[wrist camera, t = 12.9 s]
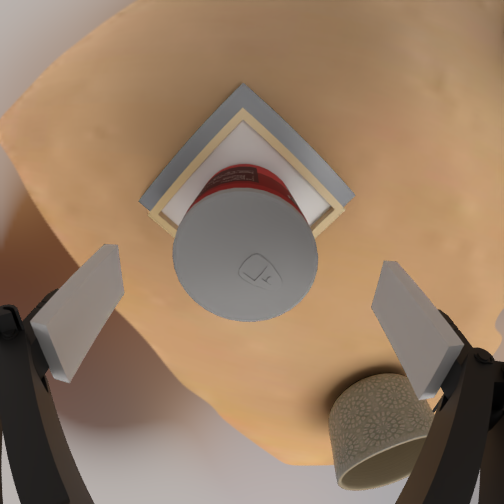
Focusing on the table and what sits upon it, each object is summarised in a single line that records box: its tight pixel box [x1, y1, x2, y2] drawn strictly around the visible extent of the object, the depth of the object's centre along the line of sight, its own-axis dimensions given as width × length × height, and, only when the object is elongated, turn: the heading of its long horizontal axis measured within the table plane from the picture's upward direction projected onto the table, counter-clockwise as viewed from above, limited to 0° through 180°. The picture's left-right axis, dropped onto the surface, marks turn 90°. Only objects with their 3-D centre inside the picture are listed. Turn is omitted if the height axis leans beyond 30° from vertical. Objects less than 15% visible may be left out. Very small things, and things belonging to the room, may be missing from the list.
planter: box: [329, 373, 435, 491], centre depth 38 cm, size 17×17×15 cm
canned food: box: [173, 164, 318, 322], centre depth 21 cm, size 8×8×11 cm
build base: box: [139, 83, 355, 238], centre depth 28 cm, size 16×16×7 cm
